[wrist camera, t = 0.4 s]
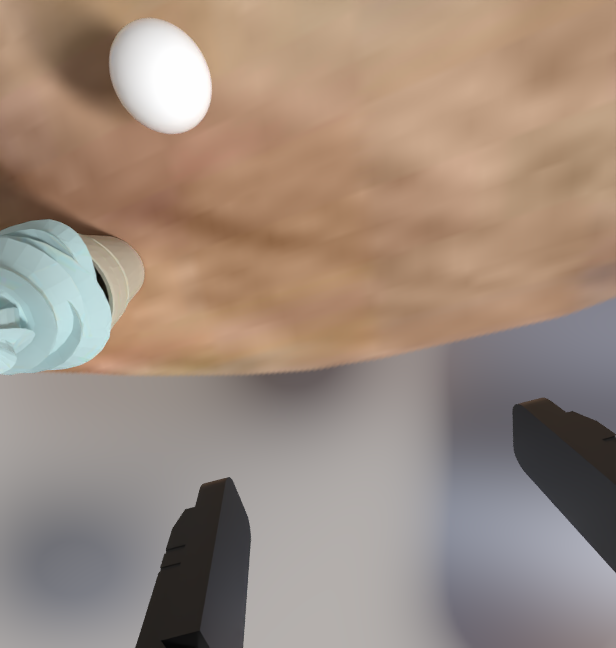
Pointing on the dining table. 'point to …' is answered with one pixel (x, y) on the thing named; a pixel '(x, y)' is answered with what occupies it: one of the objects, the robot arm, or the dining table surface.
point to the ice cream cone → (60, 294)
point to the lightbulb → (160, 75)
